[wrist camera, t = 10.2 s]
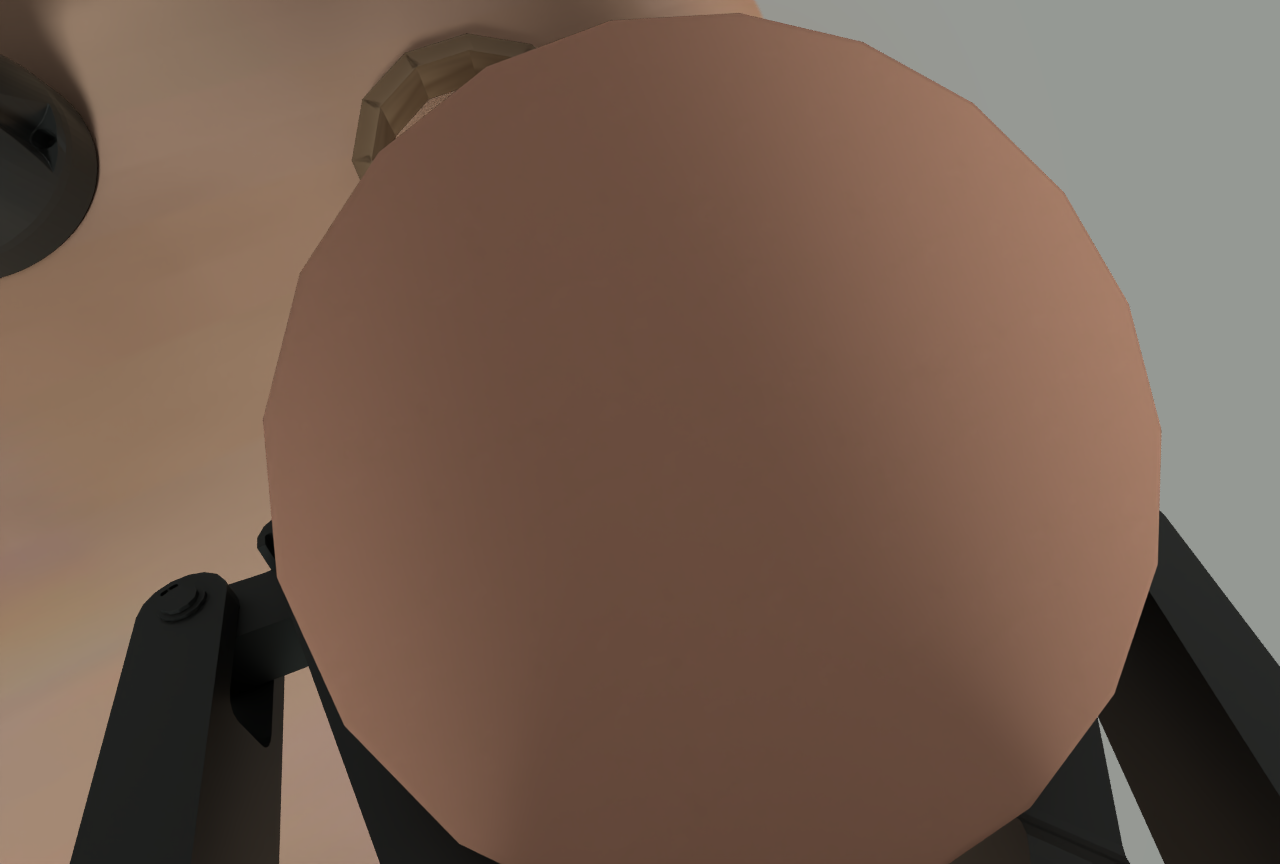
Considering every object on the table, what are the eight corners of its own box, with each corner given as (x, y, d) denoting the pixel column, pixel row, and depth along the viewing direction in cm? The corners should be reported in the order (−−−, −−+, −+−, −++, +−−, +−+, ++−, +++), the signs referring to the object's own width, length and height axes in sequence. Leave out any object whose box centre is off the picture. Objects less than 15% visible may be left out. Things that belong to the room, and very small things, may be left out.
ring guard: (323, 191, 38) (301, 165, 35) (469, 29, 41) (460, -8, 38) (514, 328, 38) (508, 314, 35) (647, 159, 41) (652, 133, 38)
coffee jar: (773, 404, 25) (1232, 178, 7) (706, 634, 24) (1083, 1056, 6) (552, 328, 24) (465, -121, 7) (469, 559, 23) (67, 775, 5)
